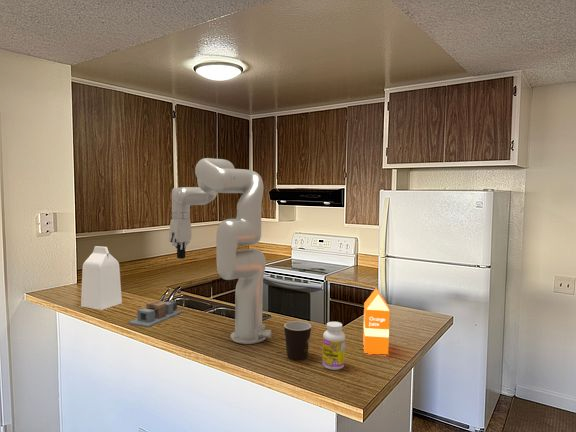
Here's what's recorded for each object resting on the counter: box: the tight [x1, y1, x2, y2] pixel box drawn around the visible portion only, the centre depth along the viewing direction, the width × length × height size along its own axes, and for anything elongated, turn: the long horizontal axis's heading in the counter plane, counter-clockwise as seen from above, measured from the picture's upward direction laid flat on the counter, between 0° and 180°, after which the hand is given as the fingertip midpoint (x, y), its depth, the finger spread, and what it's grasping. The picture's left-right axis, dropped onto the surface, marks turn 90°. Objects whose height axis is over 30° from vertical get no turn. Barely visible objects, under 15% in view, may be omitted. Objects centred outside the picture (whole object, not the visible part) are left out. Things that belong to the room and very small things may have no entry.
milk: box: [80, 245, 123, 311], centre depth 181 cm, size 12×12×26 cm
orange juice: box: [362, 287, 390, 355], centre depth 136 cm, size 8×9×20 cm
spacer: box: [145, 300, 166, 319], centre depth 165 cm, size 6×4×5 cm, turn 67°
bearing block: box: [127, 301, 183, 328], centre depth 165 cm, size 10×20×5 cm, turn 157°
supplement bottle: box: [321, 321, 346, 371], centre depth 123 cm, size 7×7×13 cm
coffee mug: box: [283, 320, 312, 362], centre depth 130 cm, size 12×9×10 cm
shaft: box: [155, 300, 178, 315], centre depth 168 cm, size 4×15×3 cm, turn 157°
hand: (181, 258), depth 178 cm, fingers closed
